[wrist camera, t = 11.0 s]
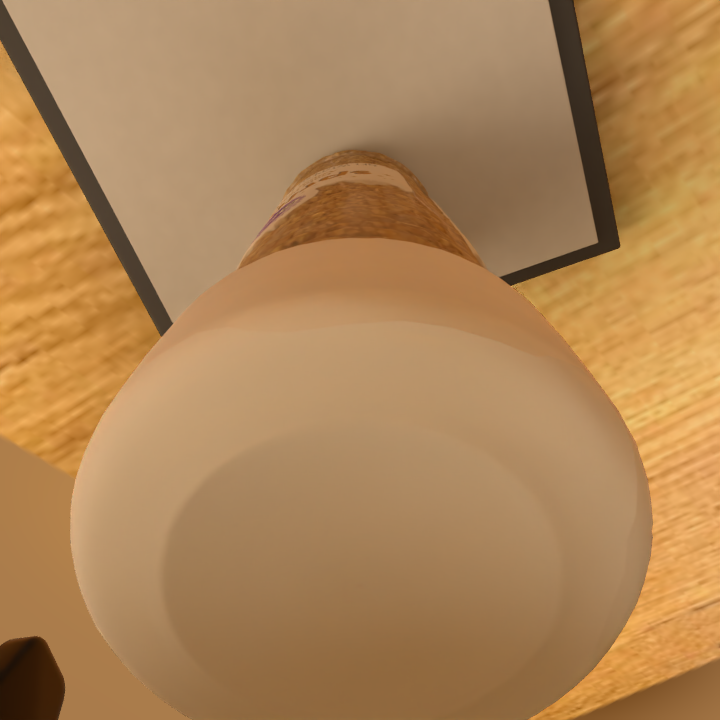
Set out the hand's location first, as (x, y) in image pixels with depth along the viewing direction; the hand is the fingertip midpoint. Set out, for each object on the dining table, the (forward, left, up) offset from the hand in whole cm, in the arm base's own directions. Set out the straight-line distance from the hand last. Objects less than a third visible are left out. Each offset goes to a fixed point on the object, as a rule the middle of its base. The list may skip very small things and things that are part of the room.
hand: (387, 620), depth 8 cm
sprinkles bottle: (+2, +2, -11) cm, 12 cm away
